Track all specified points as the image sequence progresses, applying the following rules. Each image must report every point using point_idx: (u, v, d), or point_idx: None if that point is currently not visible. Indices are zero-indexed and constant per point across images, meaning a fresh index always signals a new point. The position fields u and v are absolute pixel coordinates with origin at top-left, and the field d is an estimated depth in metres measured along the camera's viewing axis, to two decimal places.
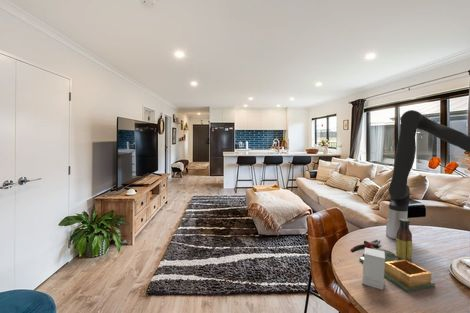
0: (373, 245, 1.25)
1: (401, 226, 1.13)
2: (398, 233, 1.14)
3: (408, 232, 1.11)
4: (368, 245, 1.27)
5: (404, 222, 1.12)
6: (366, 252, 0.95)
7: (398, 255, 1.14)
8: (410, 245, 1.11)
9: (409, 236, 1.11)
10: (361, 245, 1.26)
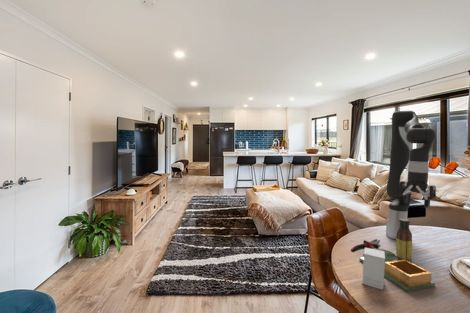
0: (373, 245, 1.25)
1: (401, 226, 1.13)
2: (398, 233, 1.14)
3: (408, 232, 1.11)
4: (368, 245, 1.27)
5: (404, 222, 1.12)
6: (366, 252, 0.95)
7: (398, 255, 1.14)
8: (410, 245, 1.11)
9: (409, 236, 1.11)
10: (361, 245, 1.26)
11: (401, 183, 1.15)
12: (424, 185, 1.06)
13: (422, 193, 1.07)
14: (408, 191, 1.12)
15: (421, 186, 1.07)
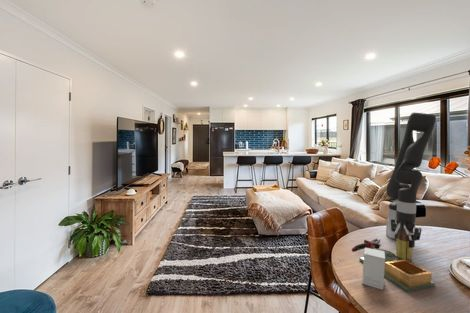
0: (373, 244, 1.26)
1: (401, 226, 1.13)
2: (398, 233, 1.13)
3: None
4: (368, 244, 1.28)
5: (404, 222, 1.11)
6: (366, 252, 0.95)
7: (398, 255, 1.14)
8: None
9: None
10: (362, 244, 1.27)
11: (392, 221, 1.19)
12: (411, 226, 1.09)
13: (407, 233, 1.10)
14: None
15: (408, 226, 1.11)
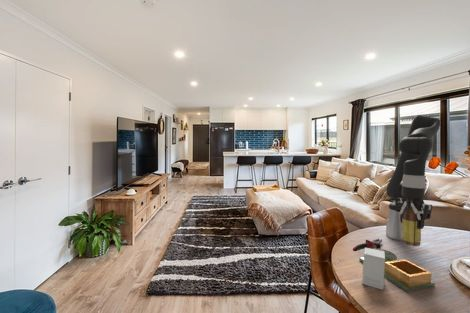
0: (375, 244, 1.26)
1: (408, 204, 0.96)
2: (404, 212, 0.97)
3: None
4: (370, 244, 1.28)
5: (411, 199, 0.95)
6: (366, 252, 0.95)
7: (405, 238, 0.97)
8: None
9: None
10: (363, 244, 1.27)
11: (396, 200, 1.02)
12: (419, 203, 0.93)
13: (415, 212, 0.94)
14: None
15: (416, 204, 0.94)
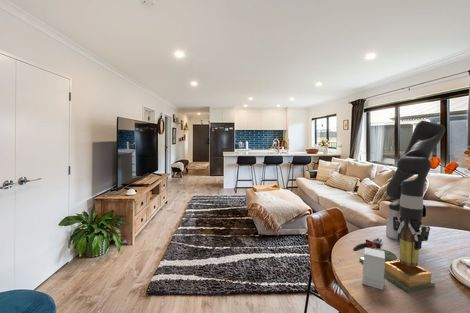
0: (375, 244, 1.26)
1: (405, 224, 0.95)
2: (402, 232, 0.96)
3: None
4: (370, 244, 1.28)
5: (409, 219, 0.94)
6: (366, 252, 0.95)
7: (402, 258, 0.96)
8: None
9: None
10: (363, 244, 1.28)
11: (394, 219, 1.01)
12: (417, 224, 0.92)
13: (413, 233, 0.93)
14: None
15: (414, 225, 0.93)
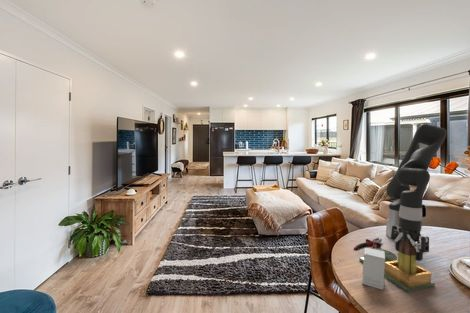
0: (375, 243, 1.27)
1: (404, 237, 0.96)
2: (400, 245, 0.97)
3: None
4: (370, 243, 1.29)
5: (407, 233, 0.95)
6: (366, 252, 0.95)
7: None
8: (414, 260, 0.94)
9: (413, 249, 0.94)
10: (364, 243, 1.28)
11: (393, 228, 1.02)
12: (416, 235, 0.92)
13: (413, 244, 0.92)
14: (400, 238, 0.98)
15: (413, 235, 0.93)
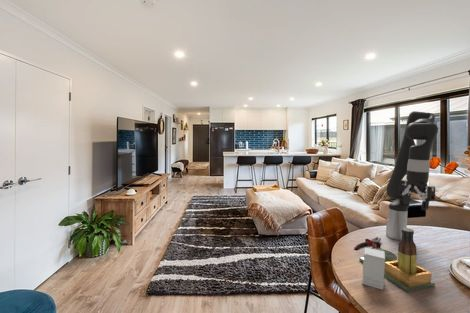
0: (375, 243, 1.28)
1: (404, 237, 0.96)
2: (400, 245, 0.97)
3: (412, 244, 0.94)
4: (370, 243, 1.30)
5: (407, 233, 0.95)
6: (366, 252, 0.95)
7: None
8: (414, 260, 0.94)
9: (413, 249, 0.94)
10: (364, 243, 1.29)
11: (401, 182, 1.07)
12: (422, 185, 0.97)
13: (420, 194, 0.98)
14: (407, 191, 1.04)
15: (419, 186, 0.98)
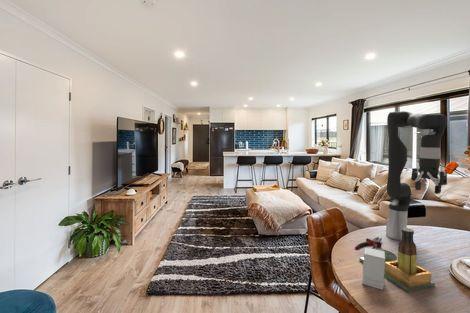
0: (376, 242, 1.28)
1: (404, 237, 0.96)
2: (400, 245, 0.97)
3: (412, 244, 0.94)
4: (371, 242, 1.30)
5: (407, 233, 0.95)
6: (366, 252, 0.95)
7: None
8: (414, 260, 0.94)
9: (413, 249, 0.94)
10: (364, 243, 1.29)
11: (413, 170, 1.15)
12: (435, 171, 1.06)
13: (433, 179, 1.06)
14: (420, 178, 1.12)
15: (432, 172, 1.07)
